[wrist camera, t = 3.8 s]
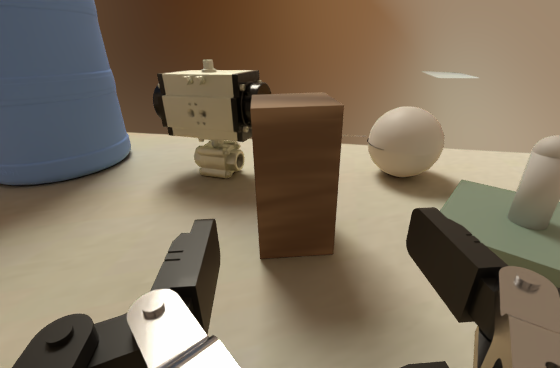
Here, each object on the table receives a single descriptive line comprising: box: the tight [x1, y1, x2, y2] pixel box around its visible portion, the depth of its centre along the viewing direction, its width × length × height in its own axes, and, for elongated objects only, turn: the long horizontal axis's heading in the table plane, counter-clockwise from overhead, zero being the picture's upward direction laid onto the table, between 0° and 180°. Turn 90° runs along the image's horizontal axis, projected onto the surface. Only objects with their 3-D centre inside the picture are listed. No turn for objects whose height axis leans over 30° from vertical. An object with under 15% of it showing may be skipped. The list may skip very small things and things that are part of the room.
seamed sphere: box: [344, 107, 444, 177], centre depth 31 cm, size 10×7×7 cm
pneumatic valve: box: [153, 60, 271, 178], centre depth 30 cm, size 6×12×12 cm, turn 70°
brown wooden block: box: [250, 93, 344, 259], centre depth 20 cm, size 5×5×10 cm
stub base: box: [440, 136, 560, 288], centre depth 19 cm, size 10×10×8 cm
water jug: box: [0, 0, 131, 185], centre depth 31 cm, size 16×16×28 cm
